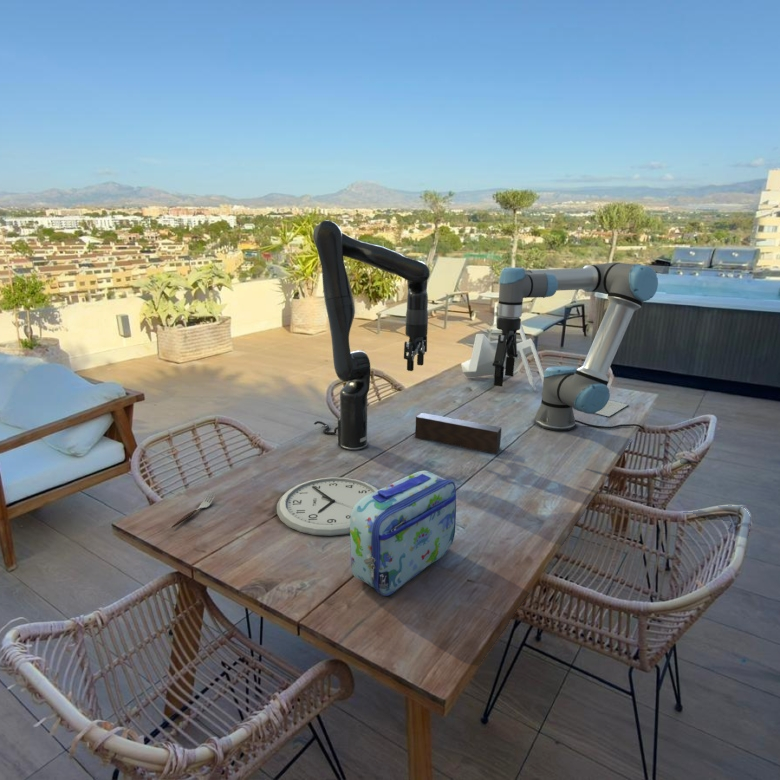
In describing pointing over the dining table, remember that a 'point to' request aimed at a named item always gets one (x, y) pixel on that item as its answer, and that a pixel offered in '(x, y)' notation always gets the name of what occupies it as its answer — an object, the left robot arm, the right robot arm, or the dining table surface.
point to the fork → (203, 505)
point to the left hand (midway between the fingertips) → (415, 367)
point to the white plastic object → (486, 354)
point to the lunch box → (402, 530)
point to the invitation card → (611, 408)
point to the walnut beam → (458, 432)
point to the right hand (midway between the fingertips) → (503, 380)
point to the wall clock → (322, 505)
